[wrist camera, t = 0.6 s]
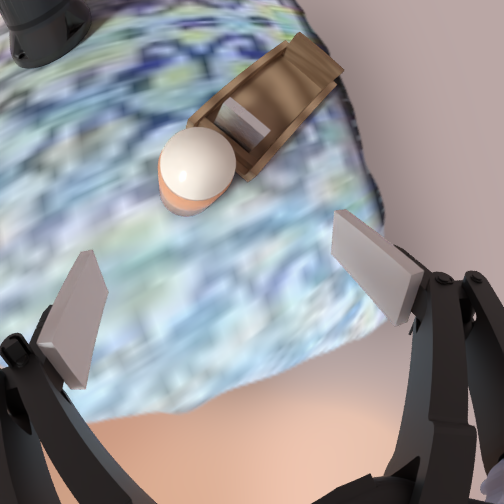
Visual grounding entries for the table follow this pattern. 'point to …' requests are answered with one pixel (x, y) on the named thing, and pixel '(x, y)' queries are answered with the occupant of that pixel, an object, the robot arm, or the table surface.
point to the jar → (194, 170)
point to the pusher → (240, 125)
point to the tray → (274, 97)
